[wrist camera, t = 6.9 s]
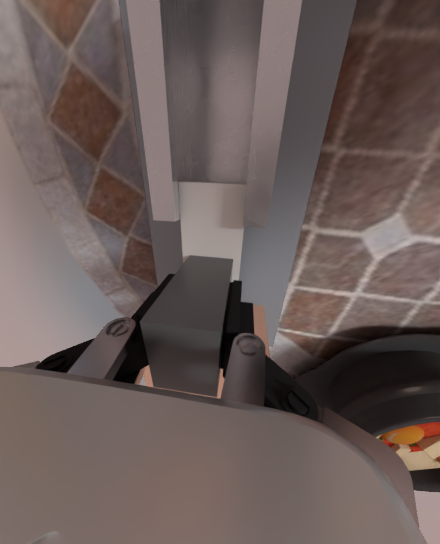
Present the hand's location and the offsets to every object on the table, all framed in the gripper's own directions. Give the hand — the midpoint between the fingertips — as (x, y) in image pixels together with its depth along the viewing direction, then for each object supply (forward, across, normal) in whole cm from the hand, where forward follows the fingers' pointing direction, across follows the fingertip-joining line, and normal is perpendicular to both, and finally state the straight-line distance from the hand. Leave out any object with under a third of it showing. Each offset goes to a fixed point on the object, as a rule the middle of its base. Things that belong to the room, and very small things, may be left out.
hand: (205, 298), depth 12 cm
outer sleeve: (+7, 0, -11) cm, 13 cm away
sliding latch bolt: (+6, 0, +2) cm, 6 cm away
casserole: (+9, -22, +16) cm, 28 cm away
